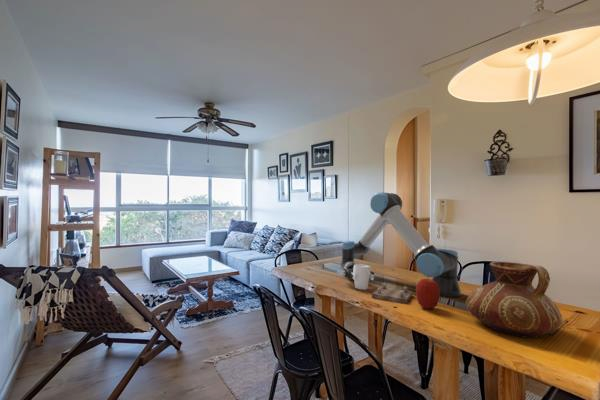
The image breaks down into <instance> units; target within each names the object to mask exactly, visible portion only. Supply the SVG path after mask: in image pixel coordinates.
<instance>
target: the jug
mask: <svg viewBox="0 0 600 400" xmlns="http://www.w3.org/2000/svg"><path fill="white" fill-rule="evenodd" d="M489 266H490V268H491V270H492V273H493V274H494V276H495V280H494V281H493V282H490V283H489V282H488V283H486V284H483V285H481V286H478V287H477V288H475V289H474V290H472V291H471V292H470V294H469V295H468V296H467V297H466V299H465V306H466V308H467V310H468V312H470V313H471V315H472V316H473V317H475V318H476V319H477V320H479V321H480V322H482V323H483V324H484V325H486V326H488V328H491V329H493V330H495V329H496V330H495V331H498V332H501V333H504V334H508V335H511V334H512V336H516V335H518V337H522V336H525V337H524V338H538V337H542V336H544V335H545V336H546V335H548V334H551V333H553V332H555V331H556V330H557V329H558V328H559V327H560V326H561V324H562V321H563V318H562V313H561V312H560V309H559V307H558V306H557V304H556V303H555V302H554V301H553V299H552V298H551V297H549V296H548V295H546V294H545V293H546V292H547V289H548V288H549V285H550V281H551V276H550V273H549V271H548V270H547V268H545V267H544V266H542V265H538V264H537V265H533V264H527V263H519V262H512V261H491V262H490V263H489ZM536 275H537V277H538V282H537V286H536V288H535V287H534V286H533V281H534V279H535V278H536Z"/></svg>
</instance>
